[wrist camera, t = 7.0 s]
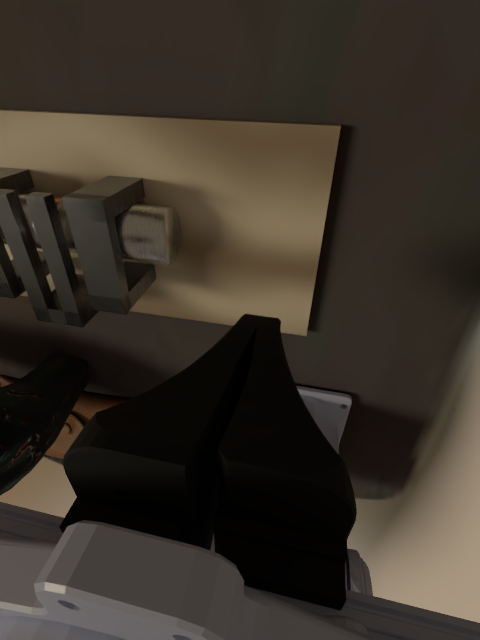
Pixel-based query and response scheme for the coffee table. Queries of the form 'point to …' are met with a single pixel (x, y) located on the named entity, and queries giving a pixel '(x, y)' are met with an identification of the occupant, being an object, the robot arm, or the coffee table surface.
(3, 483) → the ceramic cat
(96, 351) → the coffee table surface
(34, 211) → the grey slotted rack
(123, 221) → the tube
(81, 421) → the sunglasses case
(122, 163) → the base board
